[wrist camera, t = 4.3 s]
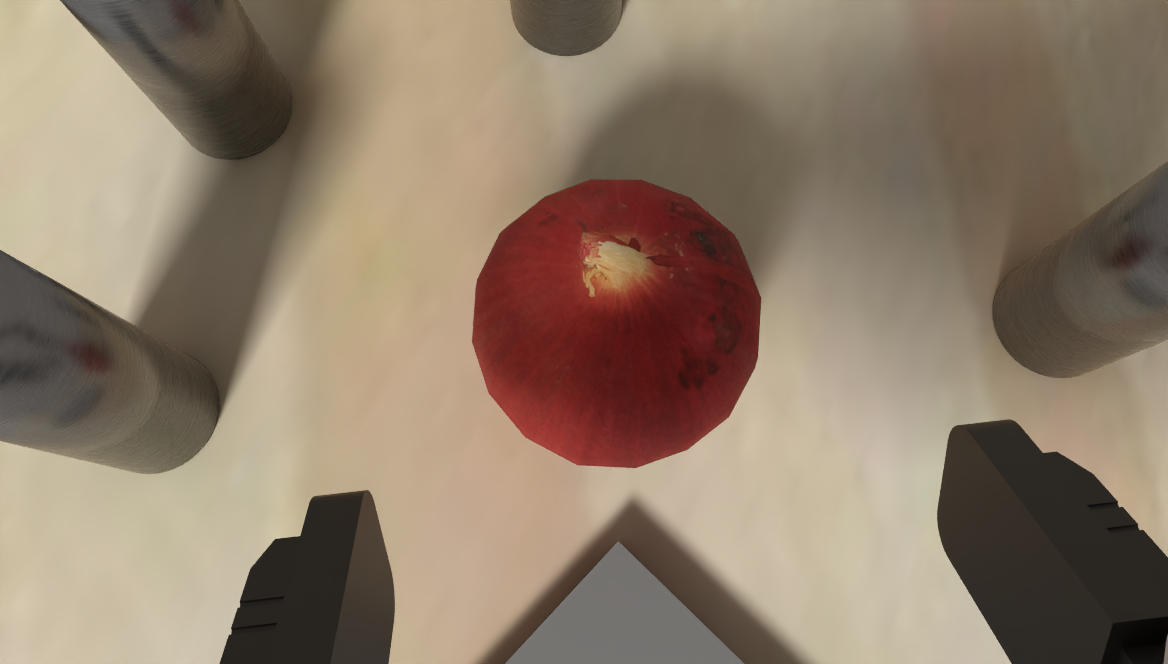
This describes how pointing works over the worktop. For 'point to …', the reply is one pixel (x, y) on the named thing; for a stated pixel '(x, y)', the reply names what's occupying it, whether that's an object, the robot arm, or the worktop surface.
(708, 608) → the worktop surface
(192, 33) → the spacer field
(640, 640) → the mat
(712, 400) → the onion
